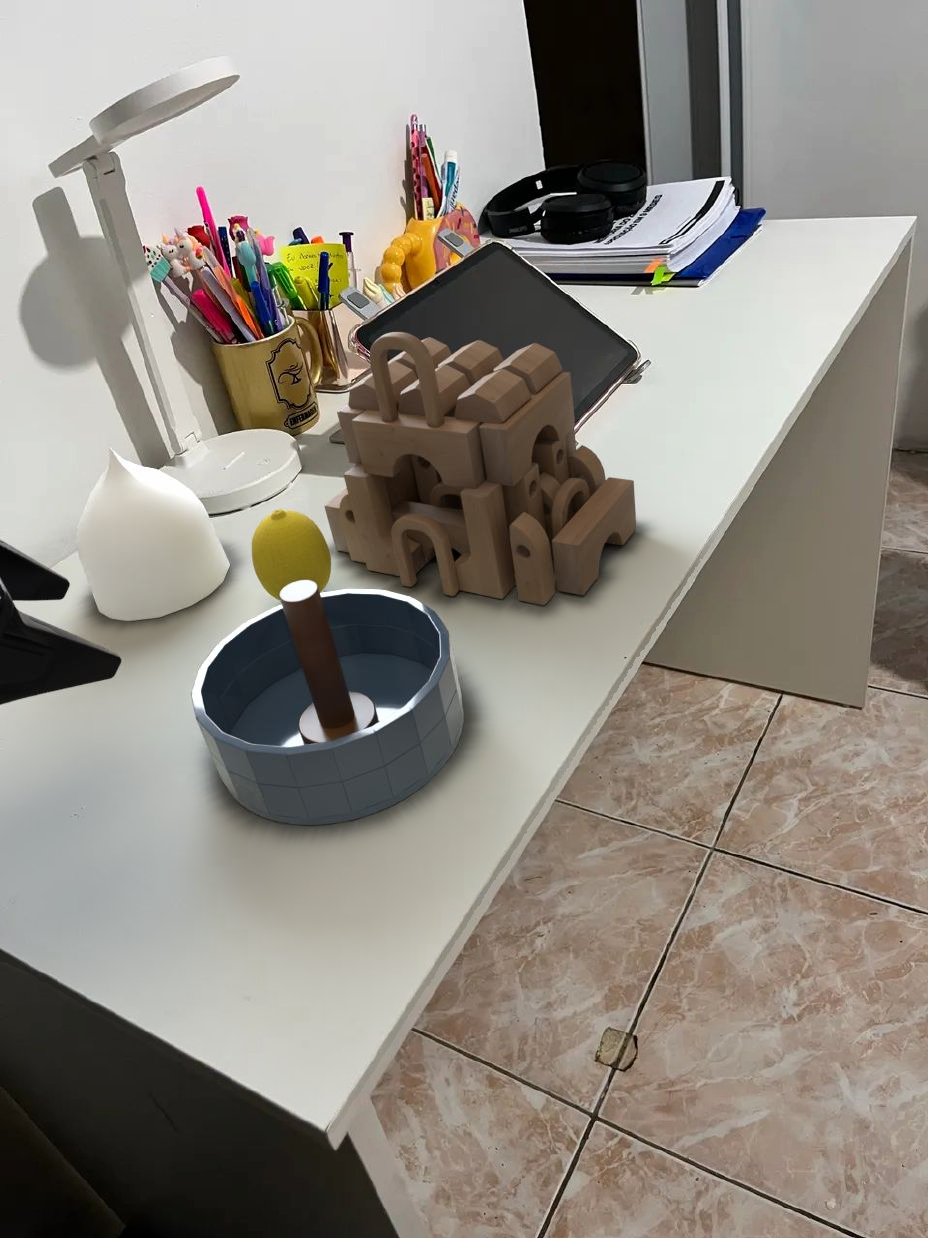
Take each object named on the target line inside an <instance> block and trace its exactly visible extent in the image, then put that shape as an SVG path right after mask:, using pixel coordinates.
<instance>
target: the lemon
mask: <svg viewBox="0 0 928 1238" xmlns="http://www.w3.org/2000/svg"><path fill="white" fill-rule="evenodd" d="M251 560H252V565H253V570H254V572H255V575H256V577H257V579H258V581H259V583H260V584H261V586H262V587H263V589H264V590H265V591H266V592H267V593H268V594H269V595H270V596H272V597H273V598H274V599H275V600H277V601H280V598H279V594H280V591H281V590H282V589H283V588H284V587H285V586H287V585H288V584H290V583H293V582H296V581H300V580H310V581H313V582H315V583H316V584H317V585H318V588H319V591H320V593H323V591H324V589H326V586H327V585H328V583H329V581H330V578H331V572H332V557H331V552H330V548H329V545H328V543H327V541H326V538H325V536H324V534H323V532H322V531H321V529H320V528H319V525H317V524H316V522H315V521H314V520H313V519H311V518H310V517H309V516H307V515H305V514H303V513H302V512H301V513H300V512H299V511H295V510H284V509H280V508H278V509H275V510H273V511H272V513H271V514H269V515H267V516H266V517H265V518H263V520H261V522H259V524H258V525H257V527H256V528H255V530H254V533H253V535H252V538H251Z"/></svg>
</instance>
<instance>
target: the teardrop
mask: <svg viewBox="0 0 928 1238" xmlns="http://www.w3.org/2000/svg"><path fill="white" fill-rule="evenodd" d="M78 522H79V523H78V525H77V528H76V550H77V554H78V557H79V561H80V564H81V566H82V569H83V573H84V575H85V577H86V580H87V583H88V586H89V588H90V591H91V594H92V596H93V599H94V601H95V604H96V607H97V611H98V612H99V613H100V614H101V615H103V616H106V617H107V618H109V619H112V620H119V621H125V622H132V621H140V620H141V621H142V620H148V619H157V618H162V617H165V616H167V615H170V614H173V613H175V612H178V611H181V610H183V609H186V608H189V607H192V606H193V605H195V604H197V603H198V602H200V601H201V600H203V599H205V598H207V597H208V596H210V595H211V594H212V593H213V592H214V591H215V590H217V589H218V587H219V586H221V585H222V584H223V583H224V581H225V579H226V576H227V574H228V571H229V568H230V567H231V563H230V561H229V559H228V556H227V554H226V552H225V549H224V547H223V545H222V542H221V541H220V538H219V536H218V534H217V532H216V529H215V527H214V525H213V522H212V520H211V518H210V515H209V513H208V511H207V510H206V508H205V506H204V505H203V502H202V501H201V499H199V498H198V497H197V495H196V494H195V493H194V492H193V491H192V490H191V489H190V488H188V487H187V486H185V484H183V483H181V482H180V481H179V480H177V479H175V478H173V477H172V476H170V475H168V474H166V473H165V472H162V471H161V470H159V469H157V468H152V467H148V466H147V467H146V466H141V465H139V464H136V463H133V462H131V461H127V460H126V459H123V458H122V457H121V456H120V455H119V454H118V453H117V452H116V451H114V450H113V449H112V448H111V447H110V446H109V447H108V459H107V467H106V468H105V470H104V471H103V473H102V474H101V476H100V477H99V479H98V481H97V482H96V484H95V485H94V487H93V489H92V490H91V492H90V494H89V496H88V499H87V501H86V504H85V507H84V509H83V511H82V514H81V516H80V519H79V521H78Z"/></svg>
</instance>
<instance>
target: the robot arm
mask: <svg viewBox="0 0 928 1238" xmlns="http://www.w3.org/2000/svg"><path fill="white" fill-rule="evenodd" d="M70 586H71V583H70V581H69V580H68V578H66V577H65V576H63V575H62V574H60V573H58V572H56V571H55V570H53V569H51V568H50V567H48V566H47V565H44V564H42V563H41V562H40V561H38V560H36V559H34V558H32V557H31V556H29V555H27V554H26V553H25V552H22V551H20V550H19V549H18V548H16V547H14V546H12V545H11V544H8V542H6V541H4V540H2V539H0V706H2V705H6V704H9V703H11V702H15V701H18V700H22V699H26V698H31V697H36V696H39V695H44V694H48V693H53V692H56V691H57V692H58V691H62V690H67V689H70V688H75V687H79V686H85V685H89V684H93V683H98V682H103V681H106V680H111V679H113V678H115V675H116V674H117V672H118V670H119V668H120V666H121V664H122V658H121V655H119V653H117V652H115V651H113V650H110V649H108V648H106V647H104V646H101V645H100V644H97V643H95V642H93V641H91V640H88V639H86V638H83V637H81V636H79V635H76V634H75V633H71V632H69V631H67V630H65V629H63V628H60V627H58V626H55V625H53V624H52V623H51V624H50V623H48V622H46V621H44V620H41V619H38V618H37V617H34V616H32V615H29V614H27V613H25V612H22V611H20V610H19V609H18V607H16V604H15V603H14V601H16V602H17V601H19V602H21V601H22V602H41V601H61V600H63V599H64V598H65V597H66V595H67V592H68V591H69V588H70Z"/></svg>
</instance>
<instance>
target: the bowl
mask: <svg viewBox="0 0 928 1238" xmlns="http://www.w3.org/2000/svg"><path fill="white" fill-rule="evenodd" d="M320 595H321V598H322V602H323V605H324V608H325V612H326V615H327V619H328V622H329V626H330V629H331V633H332V636H333V640H334V643H335V646H336V650H337V653H338V657H339V660H340V664H341V667H342V671H343V674H344V678H345V681H346V684H347V688H348V691H351V692H358V693H361V694H364V695H366V696H367V697H369V698H370V699H371V700H372V701H373V703H374V705H375V708H376V712H377V717H378V718H377V723H376V724H375V725H373V726H371V727H369V728H366V729H363V730H360V731H358V732H355V733H352V734H349V735H346V736H344V737H341V738H338V739H335V740H332V741H329V742H322V743H315V744H308V745H307V744H306V743H305V742H304V741H303V740H302V737H301V734H300V731H299V727H298V726H299V719H300V717H301V715H302V713H303V712H304V710H305V709H306V708H307V707H308V706H309V705H310V704H312V703H313V701H312V697H311V694H310V691H309V688H308V685H307V682H306V679H305V676H304V672H303V669H302V666H301V663H300V660H299V657H298V654H297V651H296V648H295V644H294V641H293V638H292V635H291V632H290V629H289V626H288V623H287V619H286V616H285V613H284V610H283V607H282V604H281V603H280V604H278V605H276V606H274V607H272V608H270V609H268V610H266V611H264V612H262V613H261V614H259V615H256V616H255V617H253V618H250V619H249V620H247V621H245V622H244V623H242V624H241V625H240V626H239V627H237V628H236V629H234V631H232V632H231V633H230V634H229V635H227V636H226V637H224V638H223V639H222V640H221V641H220V642H219V643H217V644H216V646H215V647H214V648H213V649H212V651H211V652H210V653H209V655H207V657H206V659H205V660H204V661H203V662H202V664H201V665H199V666H200V667H199V668H198V670H197V673H196V676H195V680H194V683H193V686H192V689H191V693H190V696H191V702H192V707H193V712H194V717H195V720H196V722H197V725H198V727H199V730H200V732H201V735H202V737H203V739H204V741H205V744H206V746H207V749H208V751H209V753H210V755H211V757H212V761H213V763H214V765H215V767H216V770H217V772H218V775H219V778H220V780H221V781H222V782H223V783H224V786H225V787H226V789H227V790H228V792H229V793H230V795H231V796H232V798H234V799H235V801H236V802H237V803H239V804H240V805H242V807H244V808H245V809H247V810H248V811H250V812H252V813H254V814H256V815H257V816H260V817H261V818H265V819H268V820H270V821H274V822H278V823H283V824H289V825H297V826H298V825H300V826H321V825H332V824H338V823H343V822H347V821H353V820H356V819H357V820H358V819H360V818H363V817H366V816H370V815H372V814H375V813H378V812H380V811H383V810H385V809H387V808H389V807H391V806H393V805H395V804H398V803H400V802H401V801H403V800H405V799H406V798H408V797H409V796H411V795H413V794H414V793H415V792H418V790H420V789H421V788H422V787H423V786H424V785H426V784H427V783H428V782H430V781H431V780H432V779H433V778H434V777H435V776H436V775H437V774H438V773H439V772H440V771H441V770H442V769H443V768H444V767H445V765H446V764H447V762H448V761H449V760H450V758H451V757H452V755H453V753H454V751H455V750H456V748H457V746H458V744H459V741H460V738H461V736H462V731H463V728H464V706H463V699H462V698H463V697H462V691H461V685H460V679H459V675H458V669H457V665H456V661H455V655H454V651H453V645H452V640H451V636H450V635H451V634H450V631H449V630H448V628H447V627H446V625H445V624H444V622H443V620H442V619H441V618H440V616H439V613H438V612H436V610H434V609H432V608H430V607H429V606H428V605H426V604H424V603H423V602H421V601H419V600H418V599H416V598H415V597H413V596H409V595H405V594H402V593H398V592H395V591H394V592H393V591H391V590H386V589H377V588H344V589H343V588H342V589H337V590H330V591H326V592H325V591H324V592H323V591H322V592H321V593H320Z"/></svg>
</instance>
